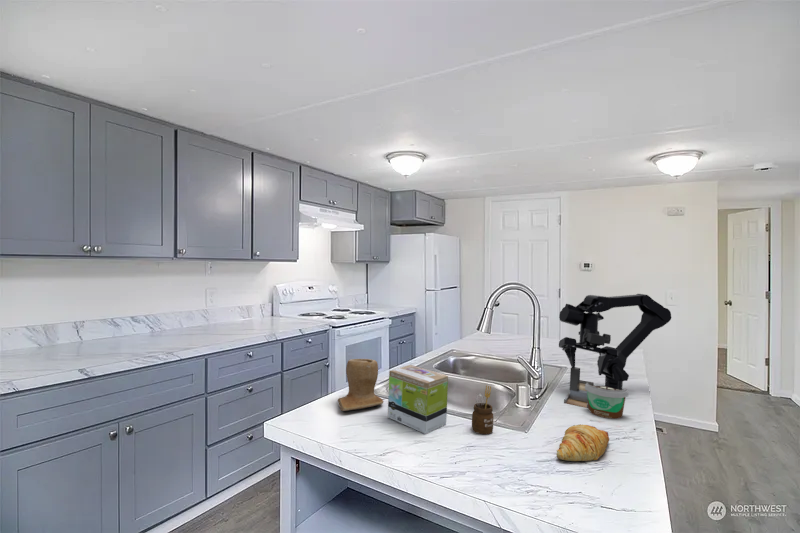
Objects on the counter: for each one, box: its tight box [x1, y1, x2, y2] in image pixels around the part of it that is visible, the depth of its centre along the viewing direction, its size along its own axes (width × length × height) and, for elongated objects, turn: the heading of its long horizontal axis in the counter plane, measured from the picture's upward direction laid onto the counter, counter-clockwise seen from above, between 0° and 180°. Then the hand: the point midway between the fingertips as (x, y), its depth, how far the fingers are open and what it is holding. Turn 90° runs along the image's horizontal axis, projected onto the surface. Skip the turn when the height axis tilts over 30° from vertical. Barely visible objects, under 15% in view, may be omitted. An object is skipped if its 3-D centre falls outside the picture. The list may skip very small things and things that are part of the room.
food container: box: [585, 383, 629, 420], centre depth 125 cm, size 12×6×10 cm, turn 62°
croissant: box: [556, 424, 610, 462], centre depth 104 cm, size 21×10×8 cm, turn 126°
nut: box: [579, 383, 587, 391], centre depth 142 cm, size 4×4×4 cm
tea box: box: [387, 364, 449, 435], centre depth 119 cm, size 15×10×15 cm, turn 47°
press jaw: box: [569, 366, 588, 402], centre depth 138 cm, size 3×6×10 cm, turn 58°
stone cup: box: [337, 358, 384, 412], centre depth 130 cm, size 15×12×15 cm
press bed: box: [563, 379, 595, 409], centre depth 140 cm, size 16×8×6 cm, turn 148°
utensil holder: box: [471, 384, 494, 435], centre depth 114 cm, size 6×6×12 cm
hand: (586, 372), depth 141 cm, fingers open, 9 cm apart
